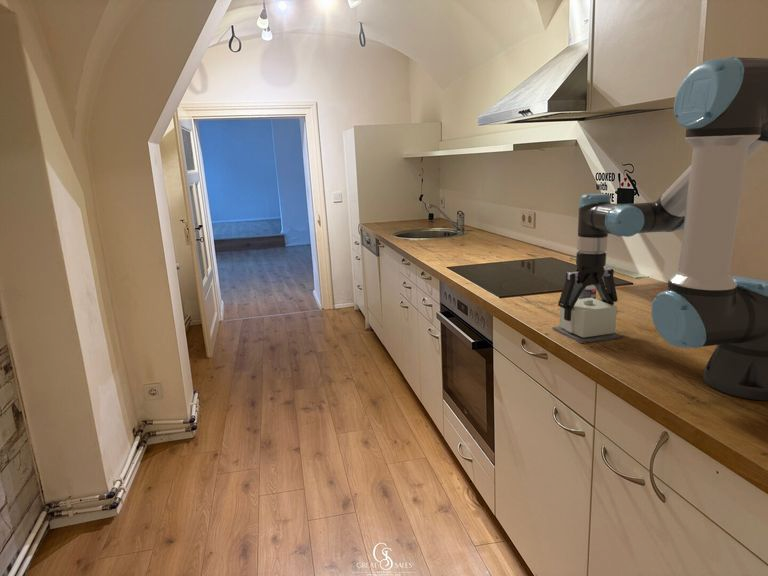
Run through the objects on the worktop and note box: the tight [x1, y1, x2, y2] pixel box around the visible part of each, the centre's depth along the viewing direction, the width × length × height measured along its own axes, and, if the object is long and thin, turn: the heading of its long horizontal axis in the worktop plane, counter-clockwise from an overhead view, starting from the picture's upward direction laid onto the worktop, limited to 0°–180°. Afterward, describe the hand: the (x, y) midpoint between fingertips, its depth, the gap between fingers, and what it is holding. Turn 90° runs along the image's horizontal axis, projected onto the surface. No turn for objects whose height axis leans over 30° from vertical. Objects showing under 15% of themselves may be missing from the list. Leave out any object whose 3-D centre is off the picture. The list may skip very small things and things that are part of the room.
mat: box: [552, 326, 623, 344], centre depth 143 cm, size 13×13×1 cm
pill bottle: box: [578, 285, 597, 299], centre depth 170 cm, size 5×5×9 cm
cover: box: [558, 298, 618, 338], centre depth 142 cm, size 10×10×8 cm
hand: (586, 328), depth 143 cm, fingers closed on cover, 10 cm apart
